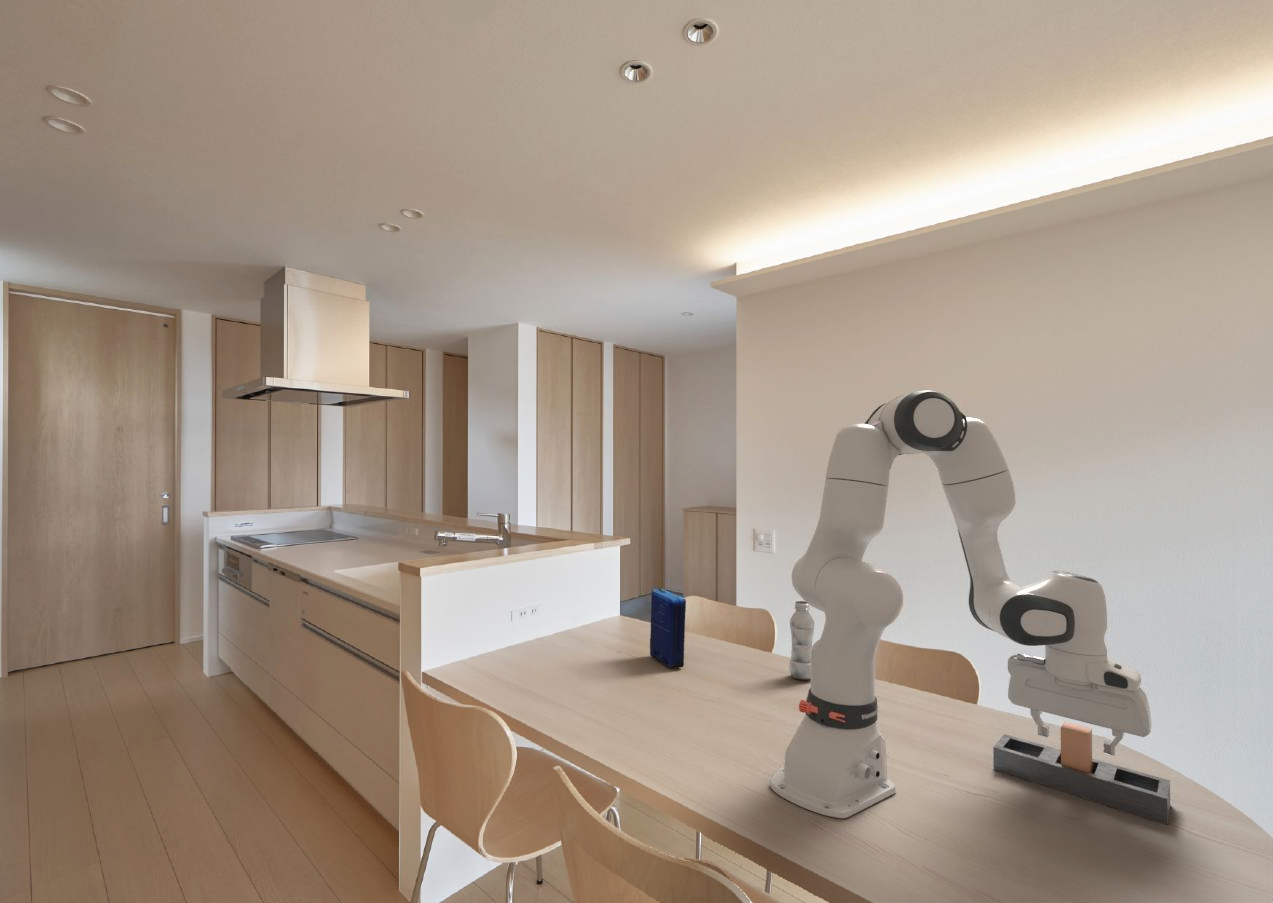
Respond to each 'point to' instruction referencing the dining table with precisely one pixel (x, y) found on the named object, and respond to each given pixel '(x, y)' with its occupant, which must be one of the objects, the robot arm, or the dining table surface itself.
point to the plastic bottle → (801, 641)
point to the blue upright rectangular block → (667, 628)
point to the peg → (1076, 747)
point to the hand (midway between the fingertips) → (1075, 744)
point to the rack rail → (1085, 778)
